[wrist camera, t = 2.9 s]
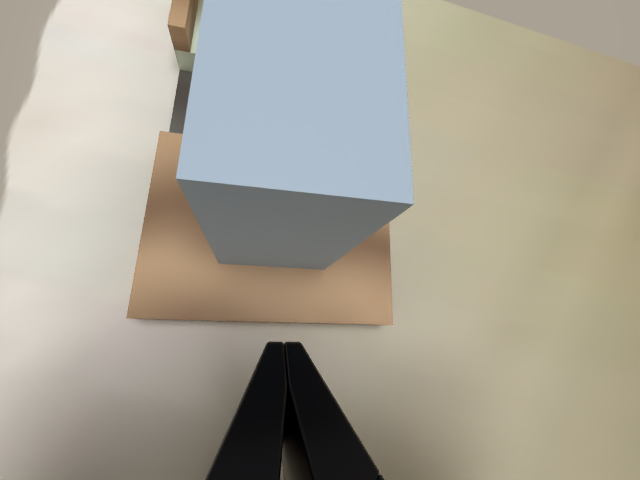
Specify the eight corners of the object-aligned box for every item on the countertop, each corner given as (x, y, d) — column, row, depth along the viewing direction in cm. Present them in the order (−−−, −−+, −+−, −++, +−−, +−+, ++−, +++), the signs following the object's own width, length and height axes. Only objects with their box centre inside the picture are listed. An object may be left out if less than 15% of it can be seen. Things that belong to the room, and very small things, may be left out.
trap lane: (380, 324, 17) (417, 324, 13) (139, 318, 15) (100, 316, 11) (371, 22, 23) (396, -39, 19) (195, -18, 20) (183, -96, 16)
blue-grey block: (324, 269, 16) (414, 203, 7) (218, 263, 15) (175, 178, 6) (326, 160, 17) (401, 0, 9) (231, 148, 16) (211, -47, 8)
